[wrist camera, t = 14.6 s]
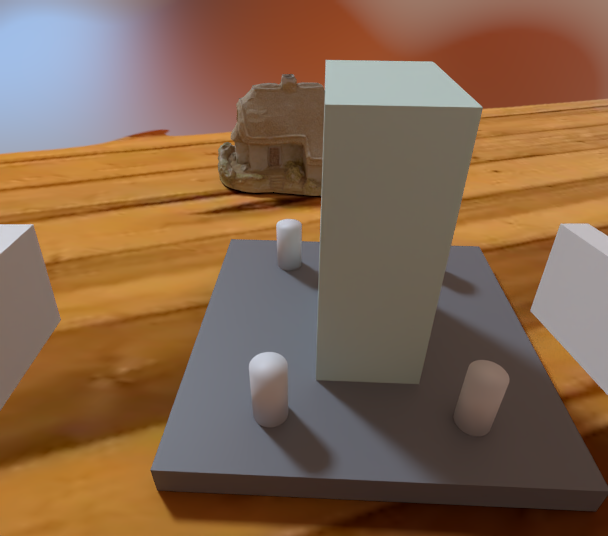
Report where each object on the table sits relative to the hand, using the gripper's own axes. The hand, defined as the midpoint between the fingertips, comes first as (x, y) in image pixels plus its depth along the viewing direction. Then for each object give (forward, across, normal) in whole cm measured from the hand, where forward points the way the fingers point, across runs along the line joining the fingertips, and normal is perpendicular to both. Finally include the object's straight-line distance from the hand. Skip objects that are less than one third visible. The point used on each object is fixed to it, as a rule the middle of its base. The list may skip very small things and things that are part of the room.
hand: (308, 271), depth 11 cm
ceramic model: (+35, +1, -9) cm, 36 cm away
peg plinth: (+10, +4, -11) cm, 15 cm away
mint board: (+10, +4, -9) cm, 14 cm away
